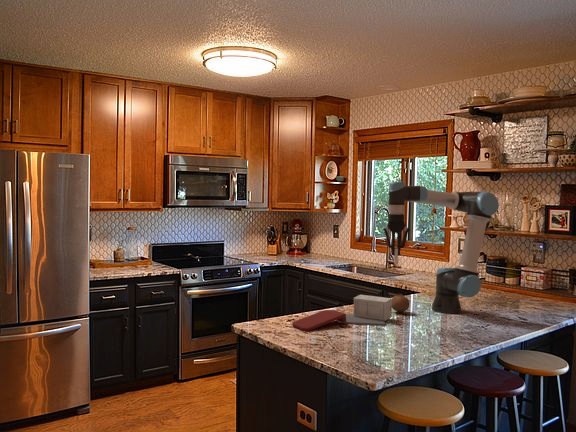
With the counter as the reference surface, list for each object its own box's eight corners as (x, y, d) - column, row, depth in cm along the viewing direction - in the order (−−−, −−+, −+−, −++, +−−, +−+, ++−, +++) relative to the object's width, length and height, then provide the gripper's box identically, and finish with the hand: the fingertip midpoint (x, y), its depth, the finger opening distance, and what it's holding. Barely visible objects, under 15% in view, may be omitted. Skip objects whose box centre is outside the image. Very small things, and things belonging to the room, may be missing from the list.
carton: (306, 339, 229) (349, 322, 243) (305, 329, 229) (348, 312, 242) (291, 333, 239) (332, 316, 253) (289, 322, 239) (331, 307, 252)
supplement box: (392, 297, 256) (360, 293, 265) (386, 301, 248) (353, 297, 257) (391, 317, 257) (359, 312, 265) (385, 321, 249) (352, 316, 257)
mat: (342, 315, 261) (342, 314, 261) (381, 317, 259) (381, 315, 259) (343, 323, 245) (343, 322, 245) (385, 325, 243) (385, 323, 243)
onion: (389, 313, 267) (390, 294, 267) (391, 310, 276) (392, 291, 276) (408, 315, 265) (409, 296, 264) (409, 311, 274) (410, 292, 273)
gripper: (383, 214, 248) (383, 263, 249) (411, 214, 247) (410, 263, 248) (381, 213, 255) (381, 261, 256) (408, 213, 254) (408, 261, 255)
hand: (395, 262), depth 252 cm, fingers closed
